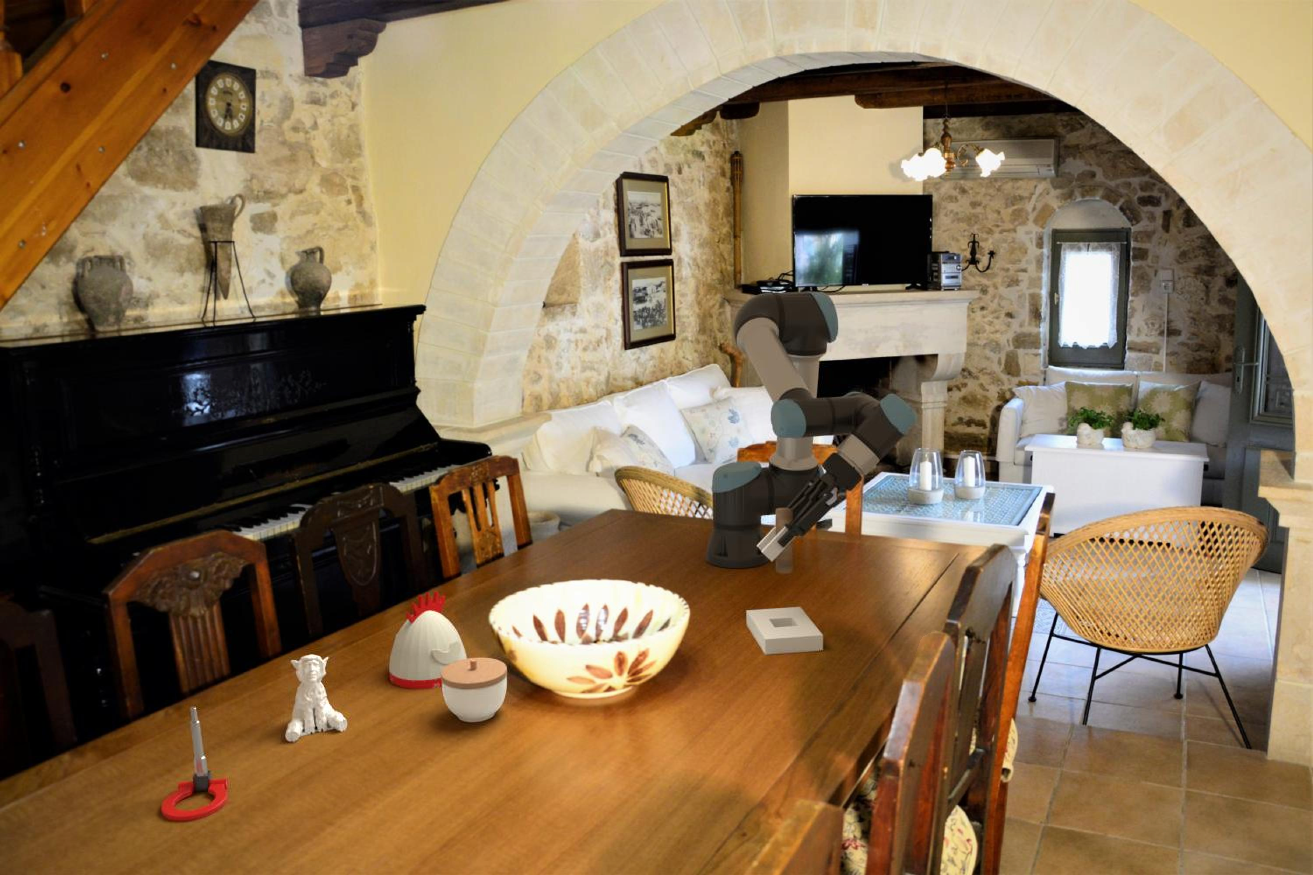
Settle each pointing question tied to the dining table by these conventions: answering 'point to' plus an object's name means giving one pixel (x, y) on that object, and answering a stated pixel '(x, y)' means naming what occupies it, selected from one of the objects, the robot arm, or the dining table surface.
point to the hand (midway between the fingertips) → (764, 553)
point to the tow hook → (196, 783)
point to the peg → (786, 556)
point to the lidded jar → (474, 687)
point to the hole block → (784, 630)
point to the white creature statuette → (312, 701)
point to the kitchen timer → (424, 646)
